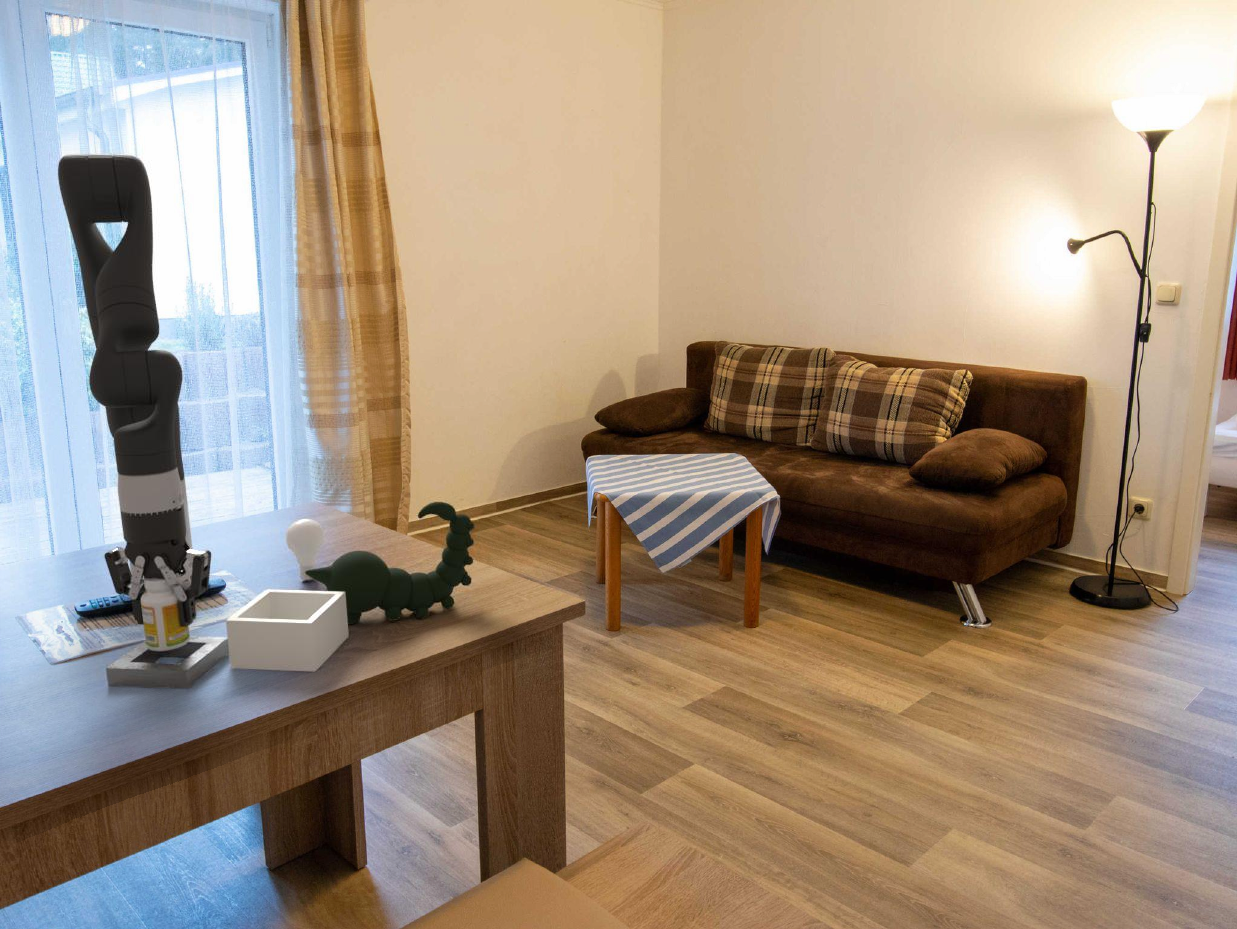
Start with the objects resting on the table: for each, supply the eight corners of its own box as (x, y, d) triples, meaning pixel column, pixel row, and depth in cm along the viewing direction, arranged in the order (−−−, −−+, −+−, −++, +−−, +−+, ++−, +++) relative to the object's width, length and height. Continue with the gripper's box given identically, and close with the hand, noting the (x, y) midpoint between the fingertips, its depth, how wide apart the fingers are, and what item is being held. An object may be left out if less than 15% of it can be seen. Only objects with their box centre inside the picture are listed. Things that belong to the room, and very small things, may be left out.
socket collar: (108, 685, 125) (106, 668, 124) (156, 651, 136) (154, 634, 135) (187, 688, 124) (185, 671, 123) (229, 654, 134) (228, 637, 134)
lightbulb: (333, 574, 167) (329, 514, 165) (319, 587, 161) (314, 525, 158) (299, 573, 168) (294, 513, 165) (283, 586, 161) (277, 524, 159)
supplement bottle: (194, 634, 132) (186, 568, 130) (184, 650, 127) (176, 581, 125) (152, 637, 131) (144, 570, 129) (141, 653, 126) (132, 584, 124)
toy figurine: (461, 606, 157) (302, 614, 148) (467, 494, 153) (304, 495, 144) (474, 626, 148) (306, 636, 139) (480, 509, 145) (308, 511, 135)
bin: (230, 668, 130) (225, 620, 128) (270, 633, 141) (266, 589, 140) (315, 671, 129) (311, 623, 127) (348, 636, 140) (345, 591, 139)
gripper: (81, 509, 122) (98, 632, 126) (188, 512, 120) (202, 637, 124) (117, 494, 129) (132, 611, 133) (218, 497, 127) (230, 615, 131)
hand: (166, 623), depth 128 cm, fingers closed on supplement bottle, 5 cm apart
